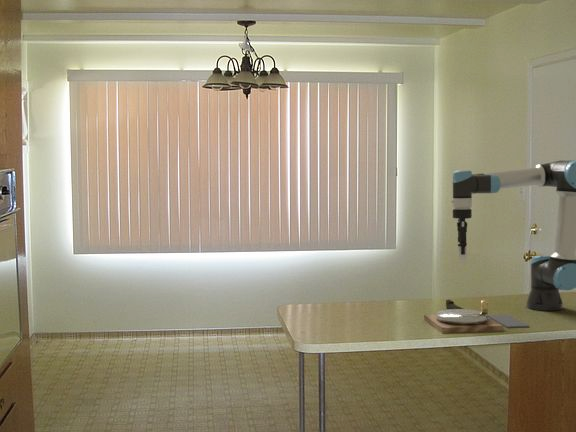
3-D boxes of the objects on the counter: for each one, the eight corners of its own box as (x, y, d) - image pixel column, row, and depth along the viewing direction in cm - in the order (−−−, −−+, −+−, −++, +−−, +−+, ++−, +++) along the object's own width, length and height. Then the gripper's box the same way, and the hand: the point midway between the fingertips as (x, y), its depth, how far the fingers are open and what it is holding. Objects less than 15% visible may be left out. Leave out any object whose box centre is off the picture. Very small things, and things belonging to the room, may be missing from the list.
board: (480, 317, 313) (480, 312, 313) (503, 330, 289) (503, 324, 289) (424, 319, 311) (424, 314, 310) (441, 332, 287) (441, 326, 287)
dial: (478, 313, 311) (478, 296, 310) (496, 323, 291) (497, 305, 290) (430, 314, 309) (430, 297, 308) (445, 325, 289) (445, 307, 288)
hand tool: (466, 317, 315) (466, 306, 314) (456, 318, 314) (456, 307, 314) (453, 309, 333) (453, 298, 333) (444, 309, 333) (444, 298, 333)
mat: (507, 315, 317) (507, 314, 317) (529, 327, 295) (529, 325, 295) (486, 316, 316) (486, 314, 316) (507, 328, 294) (507, 326, 294)
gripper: (451, 206, 321) (451, 256, 322) (453, 210, 296) (453, 264, 298) (469, 206, 319) (469, 256, 321) (473, 210, 295) (473, 264, 297)
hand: (462, 260), depth 309 cm, fingers open, 13 cm apart
